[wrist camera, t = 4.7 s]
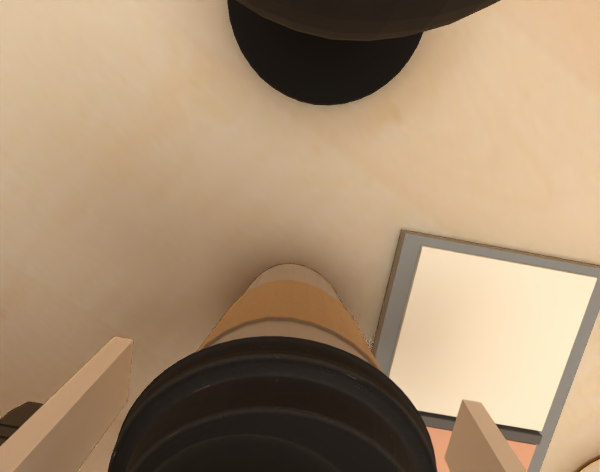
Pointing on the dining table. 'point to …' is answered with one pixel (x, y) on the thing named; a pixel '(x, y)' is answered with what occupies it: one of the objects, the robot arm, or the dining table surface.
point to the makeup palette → (485, 336)
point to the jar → (592, 467)
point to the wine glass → (336, 42)
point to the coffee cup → (276, 394)
